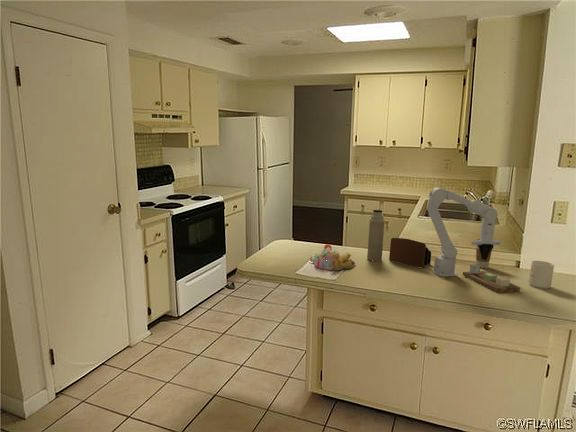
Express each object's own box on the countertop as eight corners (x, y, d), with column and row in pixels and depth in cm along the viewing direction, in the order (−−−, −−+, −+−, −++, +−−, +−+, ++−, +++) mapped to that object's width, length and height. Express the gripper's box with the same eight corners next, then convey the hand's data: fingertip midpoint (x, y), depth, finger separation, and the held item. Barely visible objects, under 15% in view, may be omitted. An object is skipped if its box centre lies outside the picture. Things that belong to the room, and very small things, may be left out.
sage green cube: (489, 283, 186) (489, 276, 185) (483, 280, 190) (484, 273, 189) (496, 283, 187) (497, 275, 186) (490, 280, 191) (491, 273, 190)
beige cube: (501, 287, 178) (502, 280, 178) (495, 284, 182) (496, 277, 181) (509, 287, 179) (510, 279, 178) (502, 284, 183) (503, 276, 182)
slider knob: (474, 274, 193) (475, 266, 193) (469, 272, 197) (470, 264, 196) (479, 274, 194) (480, 266, 193) (474, 271, 197) (475, 264, 197)
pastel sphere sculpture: (363, 265, 212) (364, 248, 210) (338, 274, 195) (339, 256, 193) (325, 256, 228) (325, 240, 227) (298, 263, 211) (299, 246, 209)
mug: (554, 290, 182) (558, 266, 180) (534, 288, 183) (537, 265, 181) (540, 281, 194) (543, 259, 192) (521, 280, 194) (524, 258, 193)
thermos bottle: (379, 257, 227) (383, 209, 222) (383, 261, 219) (386, 211, 214) (365, 257, 227) (369, 208, 222) (368, 261, 219) (372, 210, 214)
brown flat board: (496, 292, 176) (497, 288, 175) (462, 275, 199) (463, 271, 198) (519, 291, 178) (520, 286, 178) (483, 274, 201) (484, 270, 201)
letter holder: (423, 268, 209) (425, 242, 207) (388, 261, 221) (390, 236, 219) (430, 265, 216) (433, 239, 214) (396, 257, 229) (398, 233, 227)
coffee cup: (492, 269, 211) (496, 242, 208) (475, 268, 212) (478, 240, 210) (488, 265, 219) (491, 238, 216) (471, 264, 221) (474, 237, 218)
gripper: (479, 233, 187) (476, 261, 190) (506, 233, 190) (502, 261, 193) (470, 230, 194) (466, 257, 197) (495, 230, 197) (492, 257, 200)
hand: (484, 259), depth 195 cm, fingers closed
